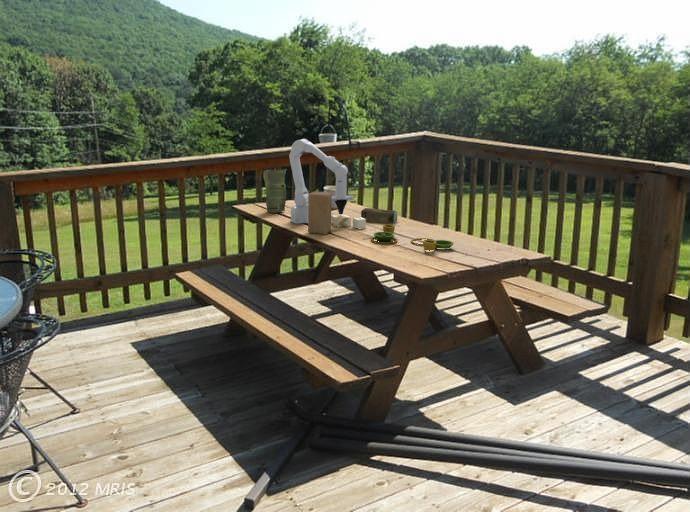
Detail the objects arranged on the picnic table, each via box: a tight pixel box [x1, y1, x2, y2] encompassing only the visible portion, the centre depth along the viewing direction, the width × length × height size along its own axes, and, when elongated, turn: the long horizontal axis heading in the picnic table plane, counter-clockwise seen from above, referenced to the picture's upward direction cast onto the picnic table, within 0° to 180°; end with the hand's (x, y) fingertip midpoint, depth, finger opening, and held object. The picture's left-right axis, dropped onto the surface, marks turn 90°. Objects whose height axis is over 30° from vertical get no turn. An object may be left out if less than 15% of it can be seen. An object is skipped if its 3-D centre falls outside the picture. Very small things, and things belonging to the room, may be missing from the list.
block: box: [307, 190, 333, 235], centre depth 335 cm, size 10×10×20 cm
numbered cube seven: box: [352, 216, 367, 229], centre depth 349 cm, size 5×5×5 cm
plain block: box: [331, 213, 352, 228], centre depth 354 cm, size 8×8×5 cm
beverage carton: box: [360, 207, 398, 225], centre depth 367 cm, size 8×19×7 cm, turn 71°
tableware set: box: [363, 224, 454, 251], centre depth 318 cm, size 41×28×6 cm
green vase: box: [262, 168, 288, 214], centre depth 383 cm, size 11×12×25 cm
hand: (340, 213), depth 354 cm, fingers closed
